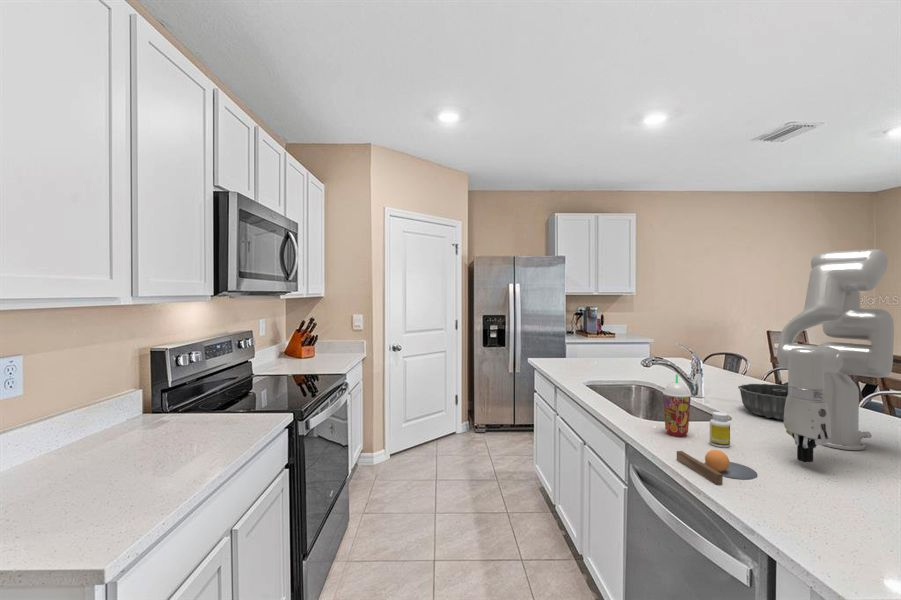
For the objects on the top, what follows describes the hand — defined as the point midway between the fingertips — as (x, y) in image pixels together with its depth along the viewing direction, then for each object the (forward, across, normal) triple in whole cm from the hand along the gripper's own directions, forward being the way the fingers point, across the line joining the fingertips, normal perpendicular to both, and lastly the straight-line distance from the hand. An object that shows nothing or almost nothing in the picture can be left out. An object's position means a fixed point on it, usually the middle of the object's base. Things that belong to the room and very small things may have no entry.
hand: (805, 460), depth 117 cm
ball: (-1, 0, +26) cm, 26 cm away
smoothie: (+2, +29, +18) cm, 34 cm away
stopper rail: (+2, 0, +31) cm, 31 cm away
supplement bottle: (+2, +18, +11) cm, 21 cm away
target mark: (+2, 0, +22) cm, 22 cm away
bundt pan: (+2, +46, -35) cm, 58 cm away
